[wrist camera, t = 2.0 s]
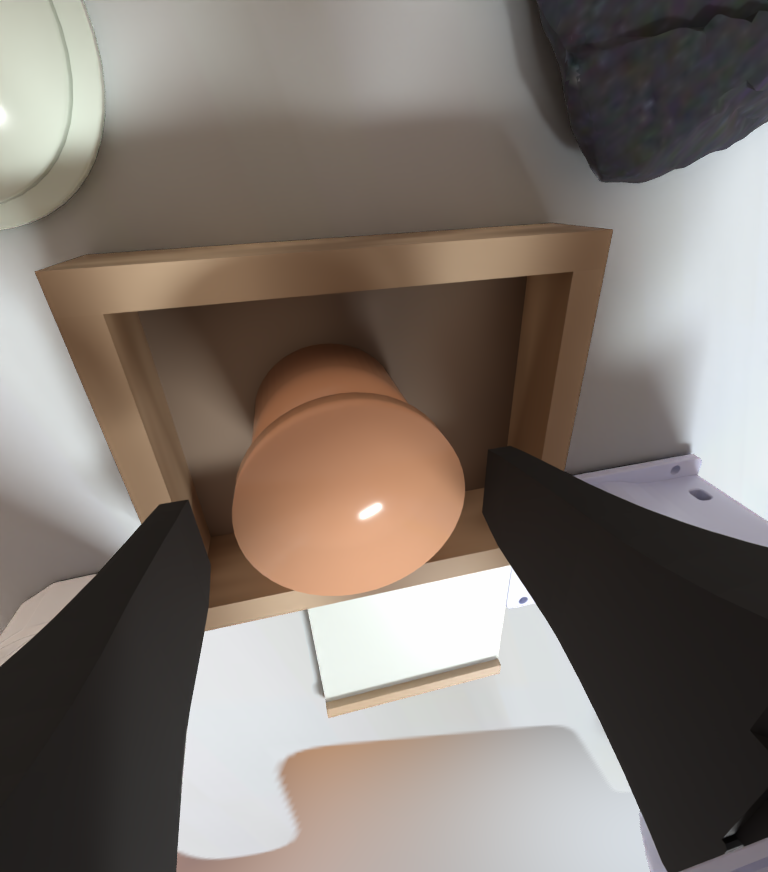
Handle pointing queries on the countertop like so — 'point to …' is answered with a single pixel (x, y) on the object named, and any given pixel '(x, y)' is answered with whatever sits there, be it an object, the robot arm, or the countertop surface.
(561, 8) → the dark slate chunk
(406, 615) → the frame lid
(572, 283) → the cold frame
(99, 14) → the countertop surface
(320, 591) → the tan bell-shaped knob
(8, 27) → the saucer
